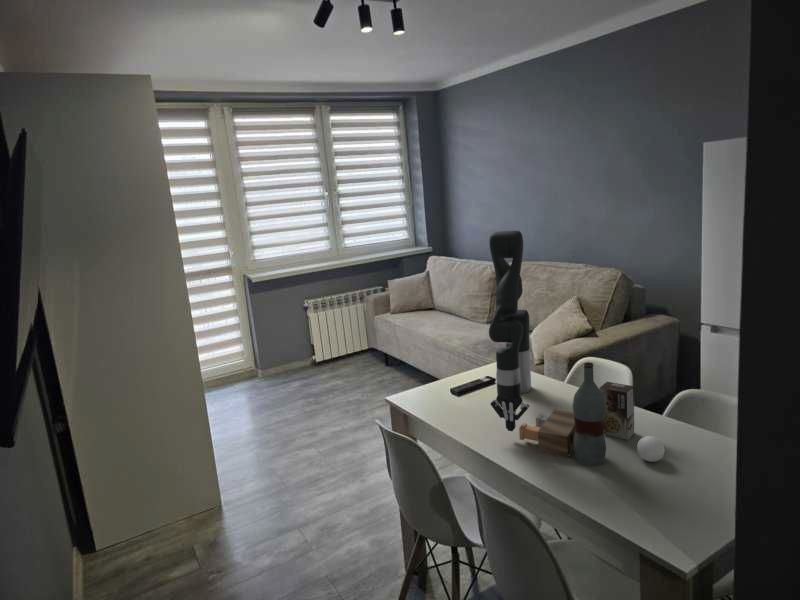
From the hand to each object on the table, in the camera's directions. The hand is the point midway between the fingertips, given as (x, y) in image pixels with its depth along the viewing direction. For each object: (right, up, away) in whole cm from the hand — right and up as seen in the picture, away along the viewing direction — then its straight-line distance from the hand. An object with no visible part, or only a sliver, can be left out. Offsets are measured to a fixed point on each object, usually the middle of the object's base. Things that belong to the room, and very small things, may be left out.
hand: (510, 430), depth 175 cm
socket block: (+15, -3, -4) cm, 16 cm away
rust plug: (+9, -2, -5) cm, 11 cm away
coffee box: (+35, -1, -1) cm, 35 cm away
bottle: (+21, -5, -15) cm, 26 cm away
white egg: (+37, -4, -18) cm, 41 cm away
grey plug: (+16, 0, +1) cm, 16 cm away
